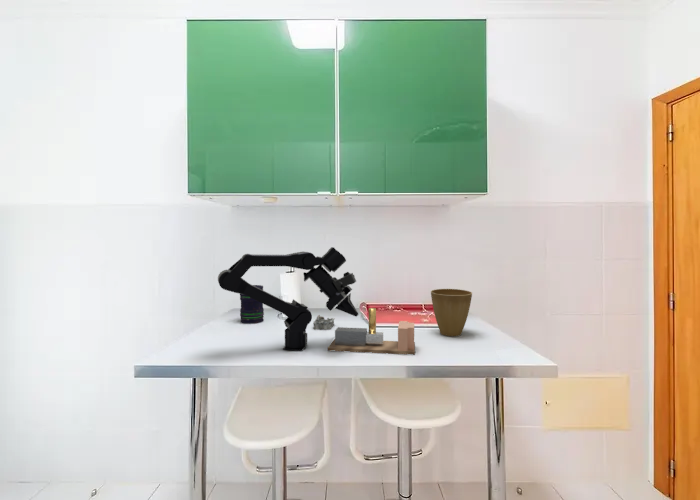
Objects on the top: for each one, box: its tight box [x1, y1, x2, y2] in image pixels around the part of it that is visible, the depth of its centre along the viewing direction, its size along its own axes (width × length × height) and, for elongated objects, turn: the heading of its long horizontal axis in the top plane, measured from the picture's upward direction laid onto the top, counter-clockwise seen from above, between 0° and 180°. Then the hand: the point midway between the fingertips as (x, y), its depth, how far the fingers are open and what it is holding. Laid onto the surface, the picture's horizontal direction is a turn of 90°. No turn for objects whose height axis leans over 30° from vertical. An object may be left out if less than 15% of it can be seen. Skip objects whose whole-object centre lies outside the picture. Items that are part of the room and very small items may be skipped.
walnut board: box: [327, 338, 416, 356], centre depth 132 cm, size 28×11×1 cm, turn 81°
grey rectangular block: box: [334, 326, 368, 347], centre depth 133 cm, size 10×5×5 cm, turn 81°
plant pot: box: [430, 288, 473, 337], centre depth 149 cm, size 15×15×16 cm
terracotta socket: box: [397, 320, 415, 351], centre depth 130 cm, size 5×10×7 cm, turn 171°
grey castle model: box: [312, 314, 336, 331], centre depth 161 cm, size 11×8×4 cm
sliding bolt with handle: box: [366, 307, 384, 344], centre depth 132 cm, size 14×3×11 cm, turn 81°
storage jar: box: [239, 284, 265, 325], centre depth 171 cm, size 10×10×15 cm
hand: (357, 315), depth 132 cm, fingers closed
